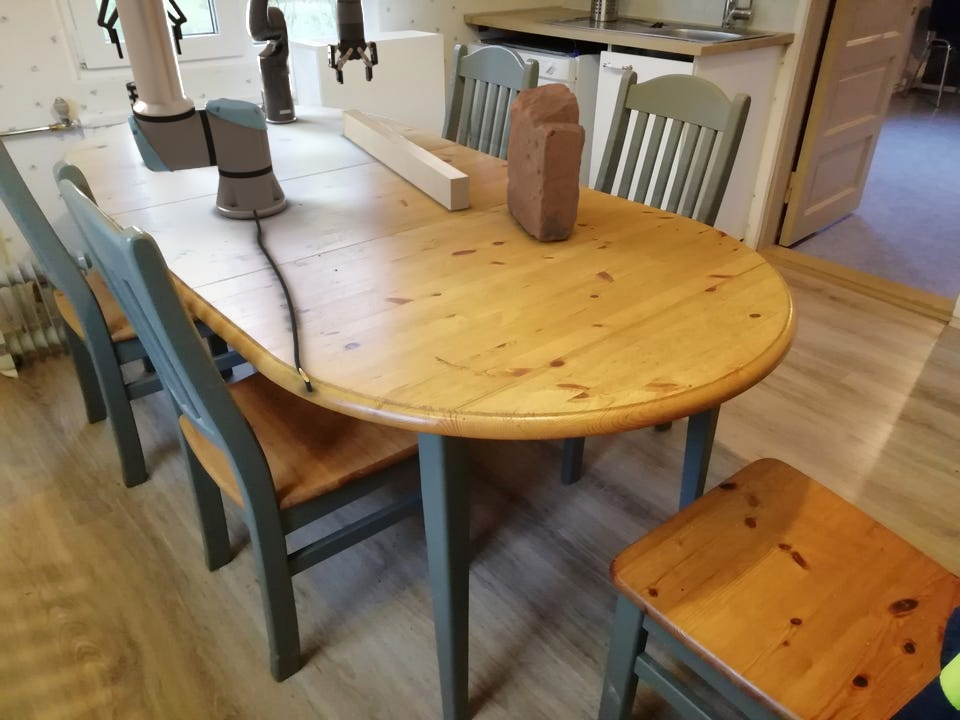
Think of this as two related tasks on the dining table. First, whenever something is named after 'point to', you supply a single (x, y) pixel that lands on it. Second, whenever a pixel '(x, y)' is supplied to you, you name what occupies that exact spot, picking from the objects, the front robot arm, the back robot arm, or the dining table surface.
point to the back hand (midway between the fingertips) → (355, 82)
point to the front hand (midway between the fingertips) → (150, 56)
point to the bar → (408, 160)
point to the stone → (545, 160)
